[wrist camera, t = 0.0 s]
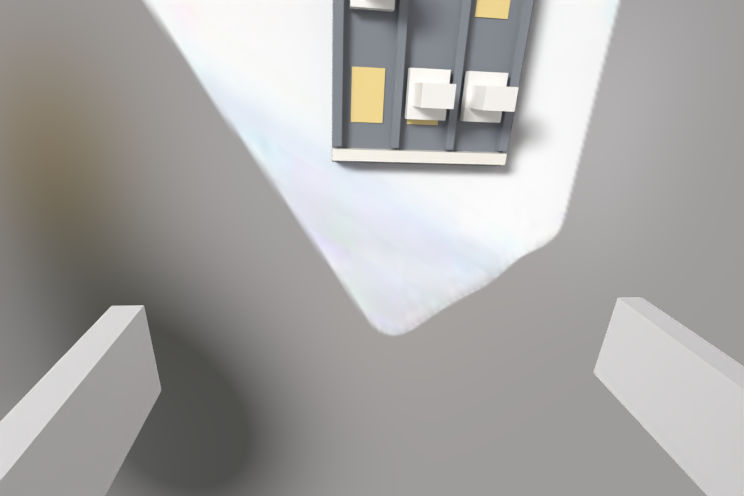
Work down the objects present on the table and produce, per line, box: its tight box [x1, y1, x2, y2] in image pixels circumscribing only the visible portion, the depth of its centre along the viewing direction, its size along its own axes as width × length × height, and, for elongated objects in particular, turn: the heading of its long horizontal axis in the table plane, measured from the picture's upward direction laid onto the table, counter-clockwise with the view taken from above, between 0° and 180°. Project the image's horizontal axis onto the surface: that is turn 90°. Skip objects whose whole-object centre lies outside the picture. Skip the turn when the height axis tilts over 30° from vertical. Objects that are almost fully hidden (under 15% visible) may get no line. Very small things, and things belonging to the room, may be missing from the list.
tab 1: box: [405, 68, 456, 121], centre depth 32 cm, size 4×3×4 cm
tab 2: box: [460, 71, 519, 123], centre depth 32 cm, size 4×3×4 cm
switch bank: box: [332, 0, 534, 166], centre depth 33 cm, size 20×16×2 cm
